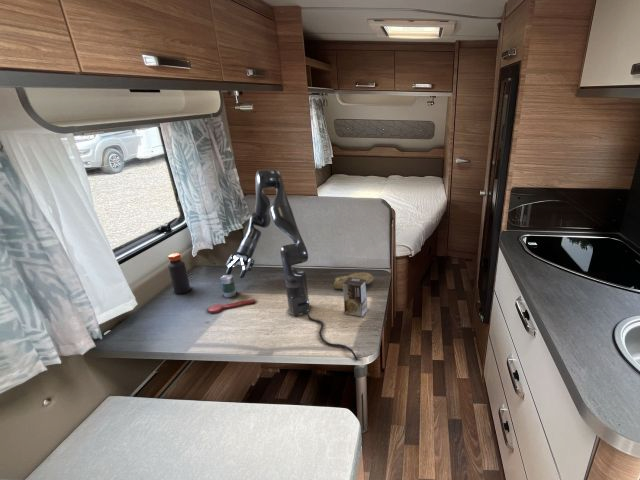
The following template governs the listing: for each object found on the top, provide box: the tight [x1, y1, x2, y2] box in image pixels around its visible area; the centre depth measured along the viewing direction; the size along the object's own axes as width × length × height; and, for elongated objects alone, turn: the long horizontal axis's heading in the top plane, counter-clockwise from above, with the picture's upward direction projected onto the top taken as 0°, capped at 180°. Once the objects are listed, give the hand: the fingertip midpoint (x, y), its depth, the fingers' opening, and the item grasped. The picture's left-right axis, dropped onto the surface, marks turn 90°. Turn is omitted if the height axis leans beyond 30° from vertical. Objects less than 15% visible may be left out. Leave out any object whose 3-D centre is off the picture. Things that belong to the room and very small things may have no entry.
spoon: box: [207, 298, 255, 314], centre depth 159 cm, size 6×20×1 cm, turn 115°
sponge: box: [333, 272, 375, 290], centre depth 179 cm, size 13×8×20 cm
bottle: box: [167, 252, 191, 295], centre depth 169 cm, size 7×7×20 cm
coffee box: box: [342, 277, 368, 317], centre depth 155 cm, size 9×6×16 cm
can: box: [219, 274, 237, 298], centre depth 168 cm, size 6×6×10 cm
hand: (234, 276), depth 170 cm, fingers open, 8 cm apart
